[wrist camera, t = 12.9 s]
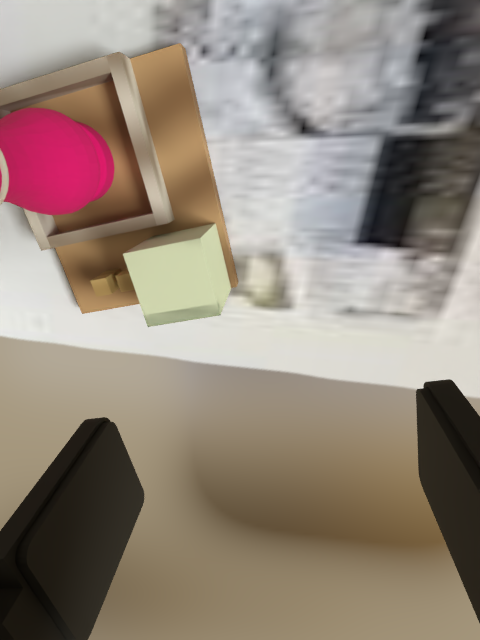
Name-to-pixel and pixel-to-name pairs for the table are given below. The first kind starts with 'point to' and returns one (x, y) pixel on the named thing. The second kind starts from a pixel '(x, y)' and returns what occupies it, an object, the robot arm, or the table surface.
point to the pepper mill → (52, 162)
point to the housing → (179, 275)
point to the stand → (127, 167)
